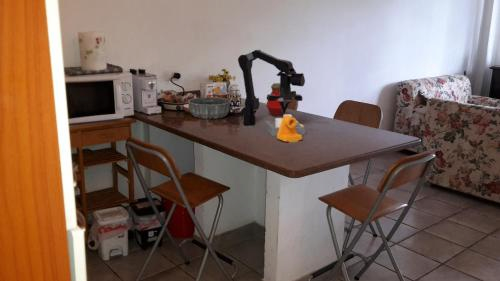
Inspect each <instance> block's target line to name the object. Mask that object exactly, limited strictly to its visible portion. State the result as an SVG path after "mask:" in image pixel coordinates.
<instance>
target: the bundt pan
mask: <svg viewBox="0 0 500 281" xmlns="http://www.w3.org/2000/svg"><path fill="white" fill-rule="evenodd" d="M231 102H232V100H230V99H229V98H225V97H224V98H223V97H216V96H215V97H213V96H212V97H210V96H209V97H195V98H190V99H188V101H187V103H188V107H189V108H188V109H189V113H190V114H191V115H192V116H193V117H195V118H198V119H204V120H206V119H209V120H212V119H222V118H224V117H226V116H228V114H229V112H230V108H231Z"/></svg>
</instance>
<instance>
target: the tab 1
mask: <svg viewBox="0 0 500 281" xmlns="http://www.w3.org/2000/svg"><path fill="white" fill-rule="evenodd" d="M282 119H283V117H277V118H275V119H274V121H275V127H280V125H281V122H282Z"/></svg>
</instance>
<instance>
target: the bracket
mask: <svg viewBox="0 0 500 281" xmlns="http://www.w3.org/2000/svg"><path fill="white" fill-rule="evenodd" d="M282 118H283V117H282ZM296 120H297V119H296V118H295V117H293V116H292V117H291V116H285V117H284V118H283V119H282V122H281V125H280V128H279V131H278V133H277V136H276V139H278V140H280V141H283V142H287V143H297V142H299V141H300V140H303V135H300V134H297V131H296V127H295V125H296Z"/></svg>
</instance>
